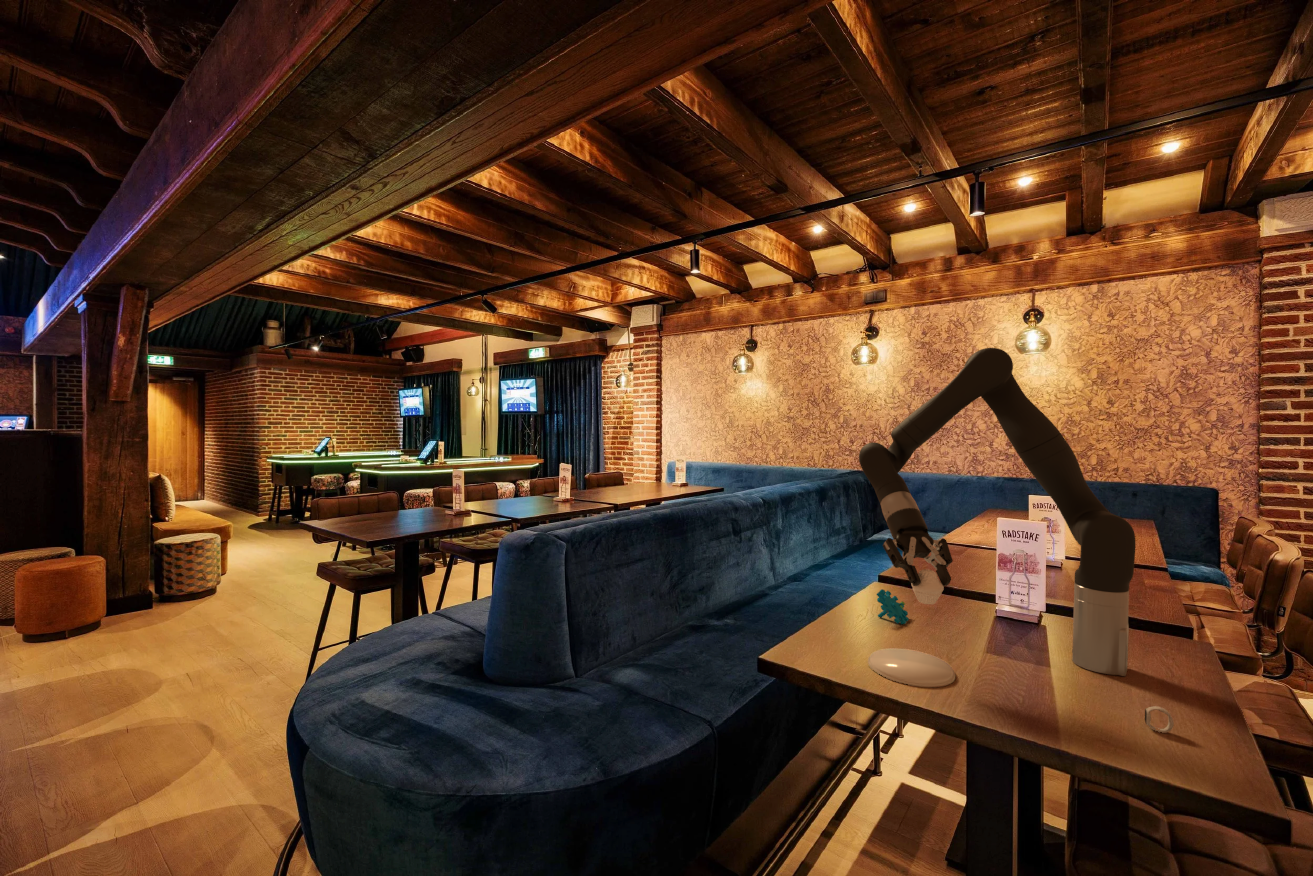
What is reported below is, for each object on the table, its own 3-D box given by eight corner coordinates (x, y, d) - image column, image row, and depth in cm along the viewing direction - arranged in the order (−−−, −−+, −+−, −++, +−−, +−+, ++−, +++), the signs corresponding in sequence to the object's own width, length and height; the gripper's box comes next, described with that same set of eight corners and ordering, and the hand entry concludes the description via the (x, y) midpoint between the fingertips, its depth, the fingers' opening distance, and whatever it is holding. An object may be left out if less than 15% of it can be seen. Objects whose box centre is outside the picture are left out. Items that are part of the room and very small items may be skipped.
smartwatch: (1172, 732, 96) (1172, 708, 96) (1174, 737, 94) (1174, 713, 94) (1144, 725, 98) (1144, 702, 98) (1145, 730, 96) (1146, 707, 96)
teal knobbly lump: (896, 623, 142) (873, 588, 149) (879, 635, 146) (858, 600, 152) (919, 620, 149) (896, 587, 155) (902, 632, 152) (880, 598, 158)
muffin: (933, 609, 114) (934, 574, 114) (904, 600, 119) (906, 567, 119) (948, 603, 118) (950, 570, 117) (920, 595, 123) (922, 563, 122)
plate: (965, 668, 120) (965, 662, 120) (940, 695, 108) (941, 689, 108) (885, 646, 131) (885, 641, 131) (854, 669, 119) (854, 663, 119)
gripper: (879, 506, 124) (907, 575, 113) (940, 507, 126) (974, 575, 115) (866, 525, 130) (892, 593, 118) (925, 526, 131) (955, 592, 120)
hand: (932, 584), depth 116 cm, fingers closed on muffin, 6 cm apart
